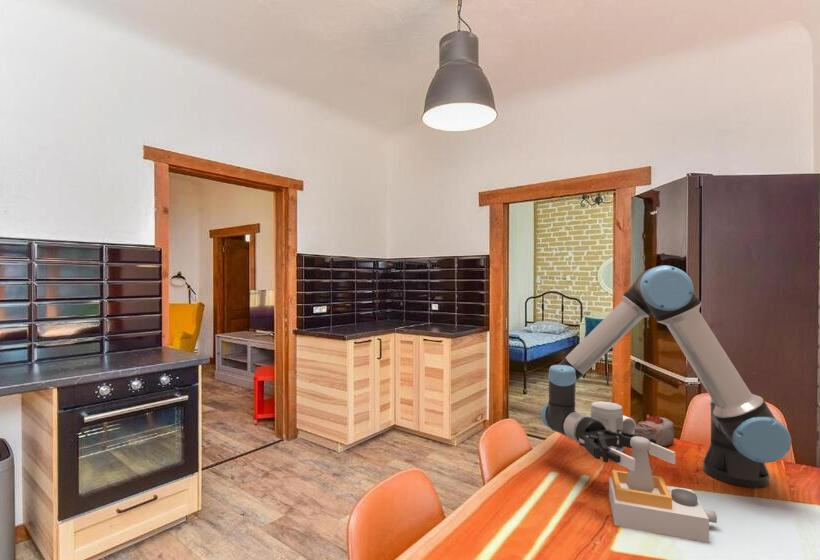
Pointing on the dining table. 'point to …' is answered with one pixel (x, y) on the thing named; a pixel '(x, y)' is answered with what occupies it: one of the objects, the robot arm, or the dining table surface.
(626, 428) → the mug
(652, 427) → the food item
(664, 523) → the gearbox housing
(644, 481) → the salt shaker
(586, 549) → the dining table surface
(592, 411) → the supplement tub
